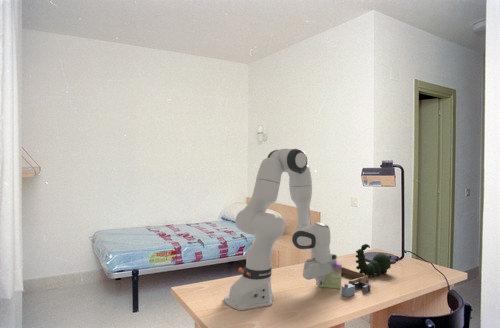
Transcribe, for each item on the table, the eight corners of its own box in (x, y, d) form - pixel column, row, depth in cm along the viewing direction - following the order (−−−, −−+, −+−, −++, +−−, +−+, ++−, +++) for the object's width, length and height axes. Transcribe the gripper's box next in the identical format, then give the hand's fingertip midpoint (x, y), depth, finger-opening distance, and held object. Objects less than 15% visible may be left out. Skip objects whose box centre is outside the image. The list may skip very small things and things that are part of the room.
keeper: (364, 293, 166) (364, 287, 166) (353, 289, 171) (353, 283, 171) (370, 291, 169) (370, 285, 169) (359, 287, 174) (360, 281, 174)
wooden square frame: (350, 289, 170) (350, 281, 170) (323, 278, 184) (324, 271, 184) (368, 283, 179) (368, 275, 179) (341, 273, 193) (342, 266, 192)
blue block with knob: (346, 297, 161) (346, 286, 161) (341, 294, 163) (341, 284, 163) (354, 294, 164) (355, 283, 164) (349, 292, 167) (349, 281, 167)
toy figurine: (365, 283, 183) (398, 273, 194) (364, 248, 182) (397, 239, 193) (352, 277, 192) (385, 267, 203) (351, 243, 190) (384, 235, 201)
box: (339, 284, 176) (340, 261, 176) (341, 289, 171) (341, 265, 170) (318, 283, 178) (319, 260, 178) (319, 287, 172) (320, 263, 172)
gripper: (309, 261, 161) (309, 291, 161) (339, 255, 173) (338, 282, 173) (300, 258, 166) (299, 287, 166) (329, 251, 178) (328, 278, 178)
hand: (319, 284), depth 170 cm, fingers closed
